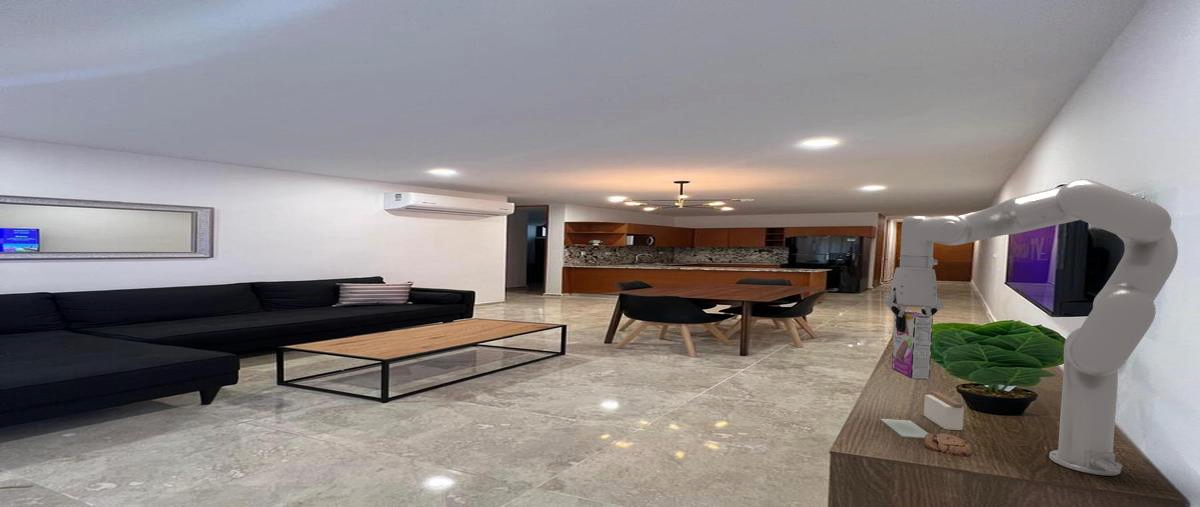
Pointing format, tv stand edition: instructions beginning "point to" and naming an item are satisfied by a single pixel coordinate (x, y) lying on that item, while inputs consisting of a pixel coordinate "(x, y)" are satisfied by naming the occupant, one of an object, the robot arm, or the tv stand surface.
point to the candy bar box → (913, 346)
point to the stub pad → (905, 428)
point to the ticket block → (943, 411)
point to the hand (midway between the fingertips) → (912, 331)
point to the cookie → (947, 444)
